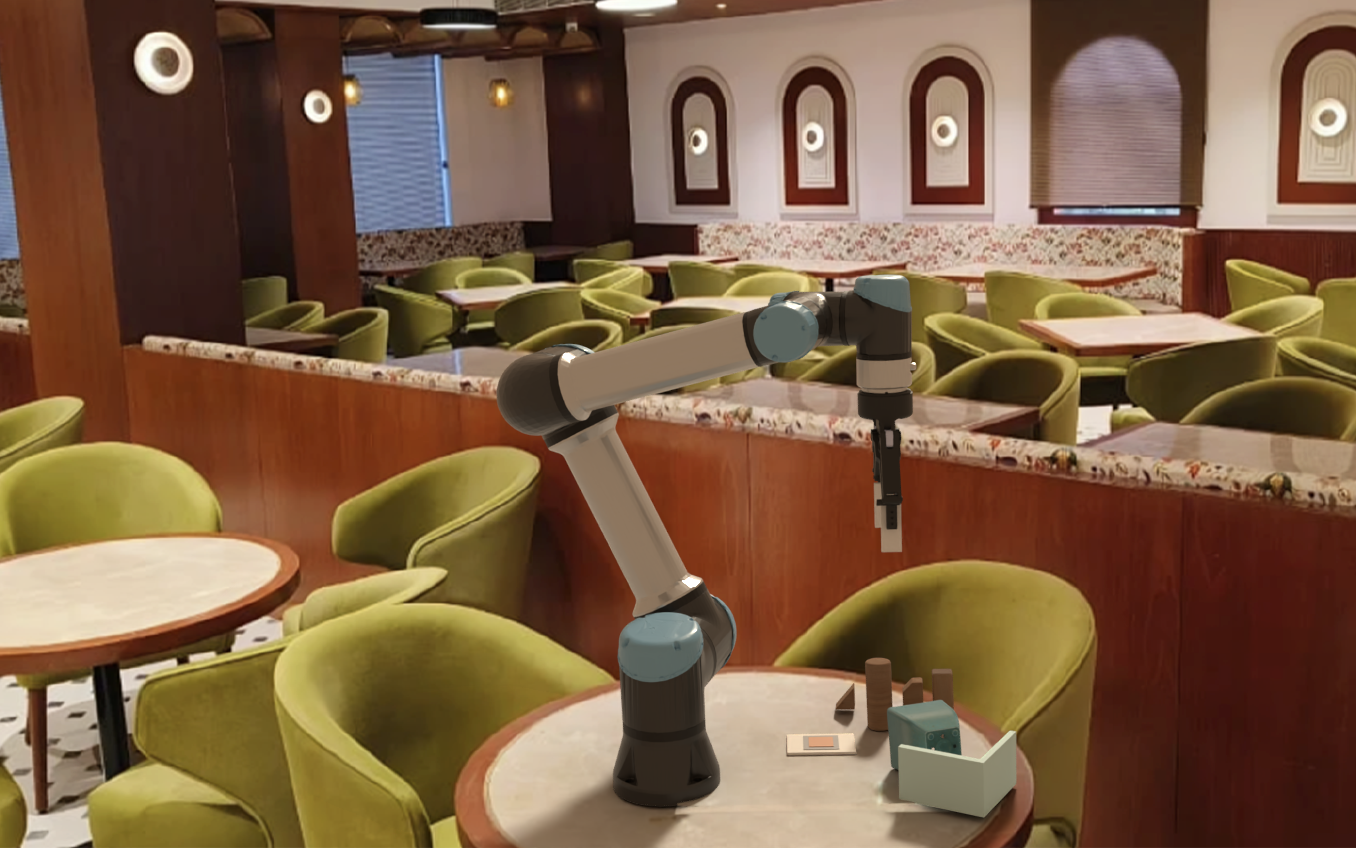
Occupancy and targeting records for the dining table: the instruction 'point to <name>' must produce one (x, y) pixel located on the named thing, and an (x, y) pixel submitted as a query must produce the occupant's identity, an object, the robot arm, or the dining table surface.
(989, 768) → the right angle wall
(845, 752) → the card
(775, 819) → the dining table surface
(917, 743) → the flower pot
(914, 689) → the wooden block set
